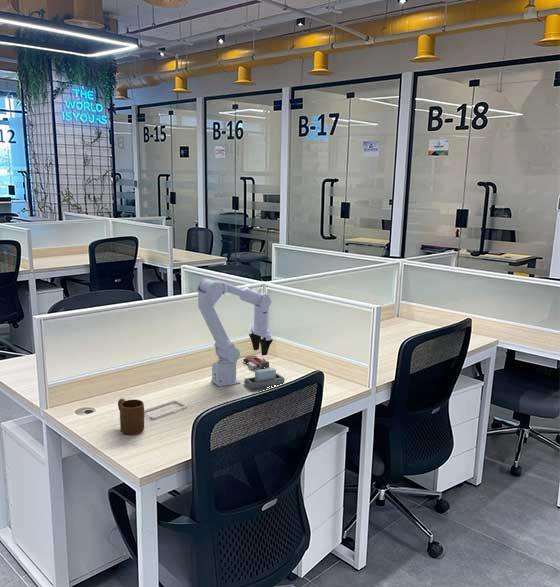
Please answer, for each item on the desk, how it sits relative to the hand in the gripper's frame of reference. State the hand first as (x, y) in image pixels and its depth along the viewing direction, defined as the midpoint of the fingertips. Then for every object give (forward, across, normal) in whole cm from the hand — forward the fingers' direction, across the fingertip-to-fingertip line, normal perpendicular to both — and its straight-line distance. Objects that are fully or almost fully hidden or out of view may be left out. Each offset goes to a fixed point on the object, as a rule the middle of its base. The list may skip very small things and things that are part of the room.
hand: (260, 352), depth 236 cm
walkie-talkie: (+10, +9, -4) cm, 14 cm away
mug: (+10, -28, +63) cm, 70 cm away
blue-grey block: (+9, -12, +4) cm, 16 cm away
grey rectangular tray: (+10, -12, +4) cm, 16 cm away
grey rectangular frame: (+11, -19, +48) cm, 53 cm away
